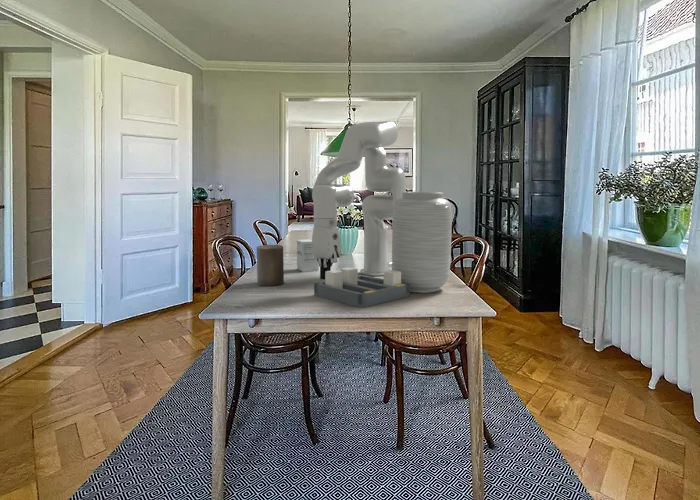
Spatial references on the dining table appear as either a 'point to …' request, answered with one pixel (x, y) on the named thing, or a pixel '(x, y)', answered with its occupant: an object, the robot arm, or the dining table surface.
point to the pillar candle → (270, 265)
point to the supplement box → (306, 256)
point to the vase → (422, 240)
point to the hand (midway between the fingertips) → (325, 278)
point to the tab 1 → (334, 278)
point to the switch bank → (362, 292)
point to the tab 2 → (392, 278)
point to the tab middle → (350, 275)
